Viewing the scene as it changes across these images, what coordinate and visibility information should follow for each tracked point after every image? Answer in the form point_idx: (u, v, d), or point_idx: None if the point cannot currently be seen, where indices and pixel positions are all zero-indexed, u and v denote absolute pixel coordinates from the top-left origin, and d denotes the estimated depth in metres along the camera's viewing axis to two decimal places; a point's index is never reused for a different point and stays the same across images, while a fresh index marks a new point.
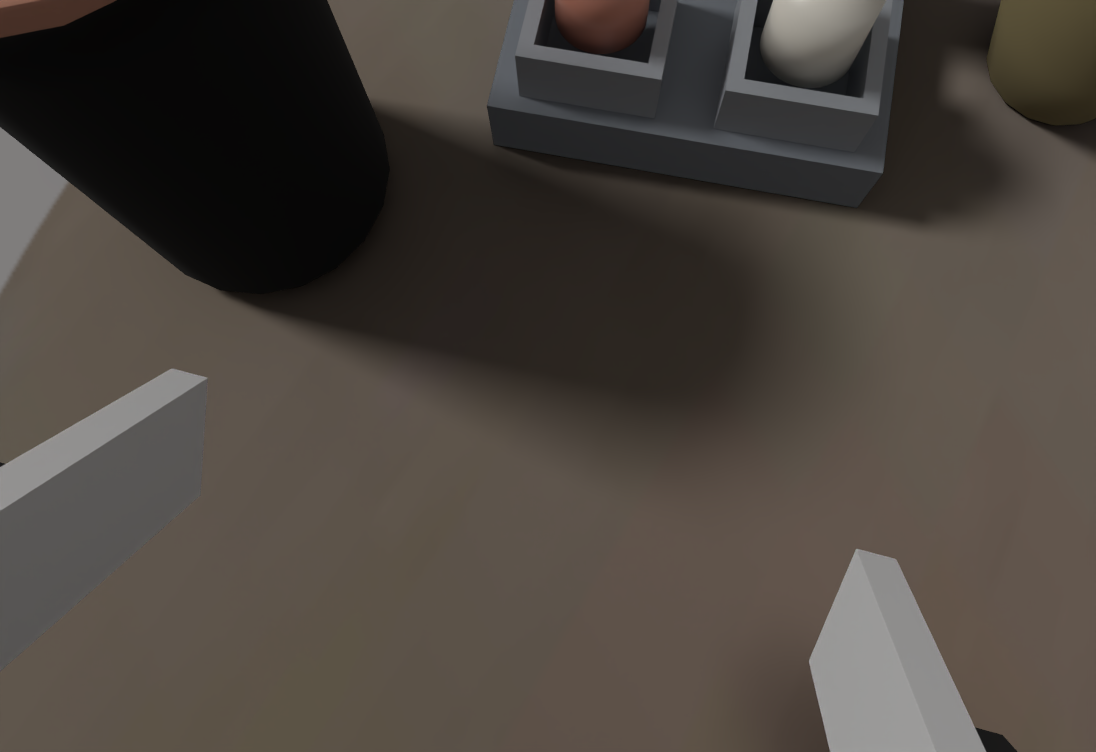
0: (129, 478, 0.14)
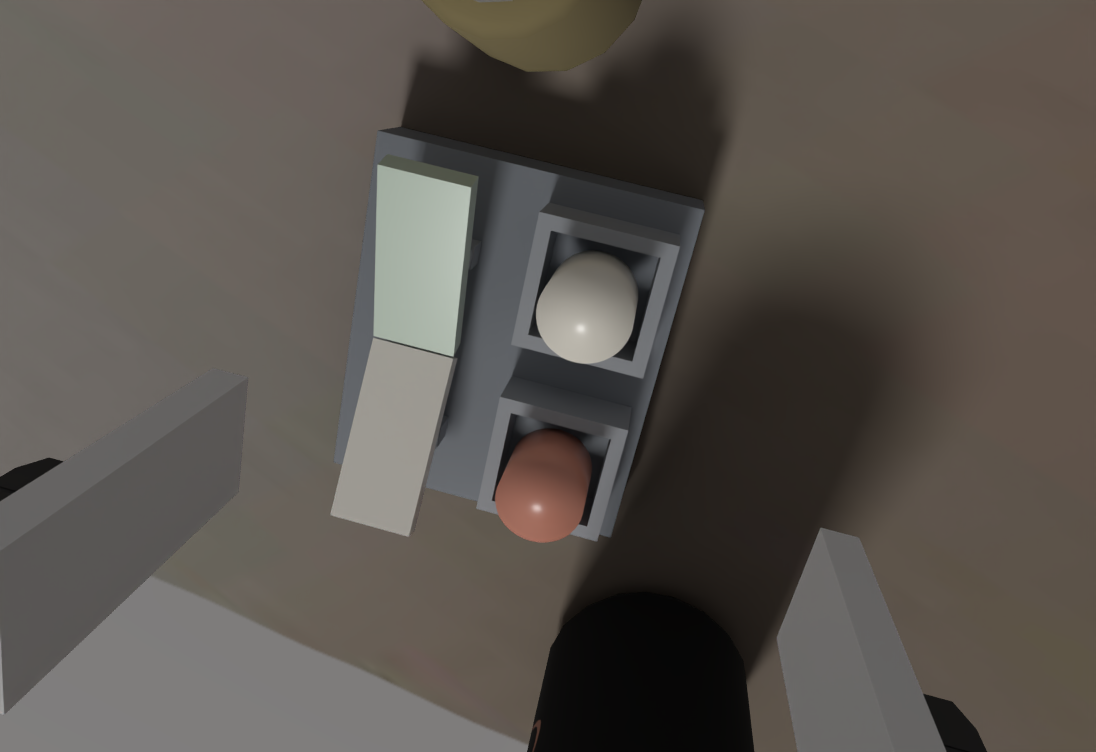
0: (176, 474, 0.14)
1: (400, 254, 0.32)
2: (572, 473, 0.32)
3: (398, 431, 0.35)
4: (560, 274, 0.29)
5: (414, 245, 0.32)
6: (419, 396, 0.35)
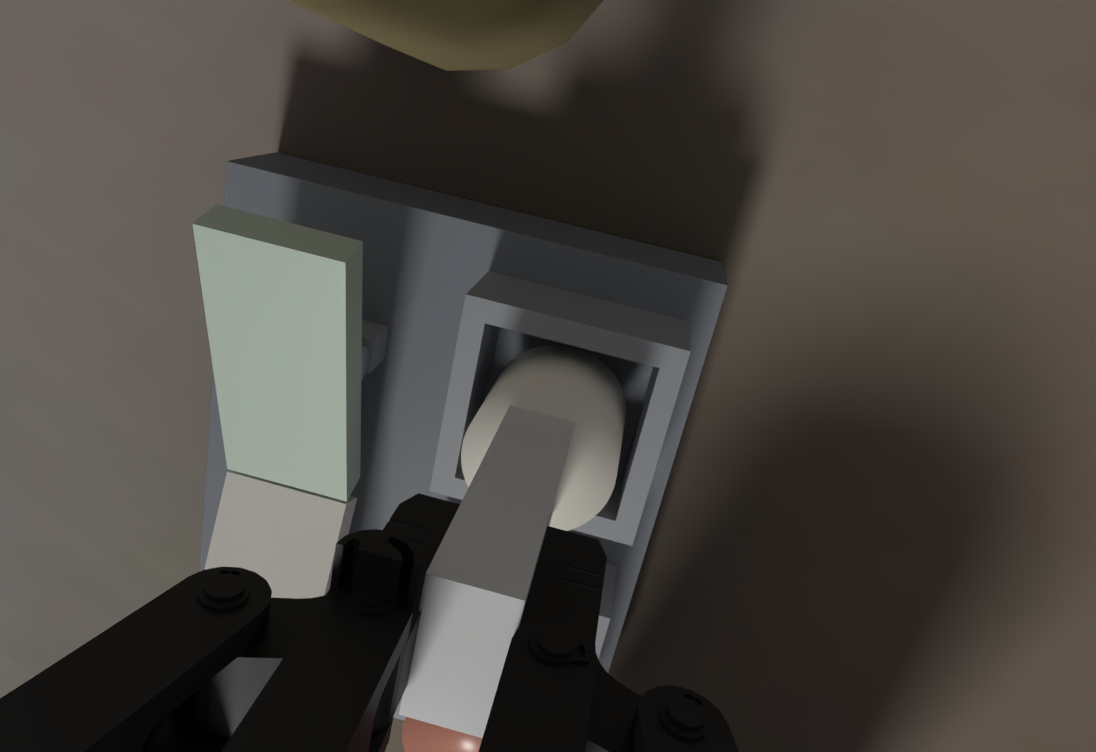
0: None
1: (249, 359, 0.20)
2: None
3: None
4: (498, 398, 0.18)
5: (268, 347, 0.20)
6: (296, 560, 0.23)
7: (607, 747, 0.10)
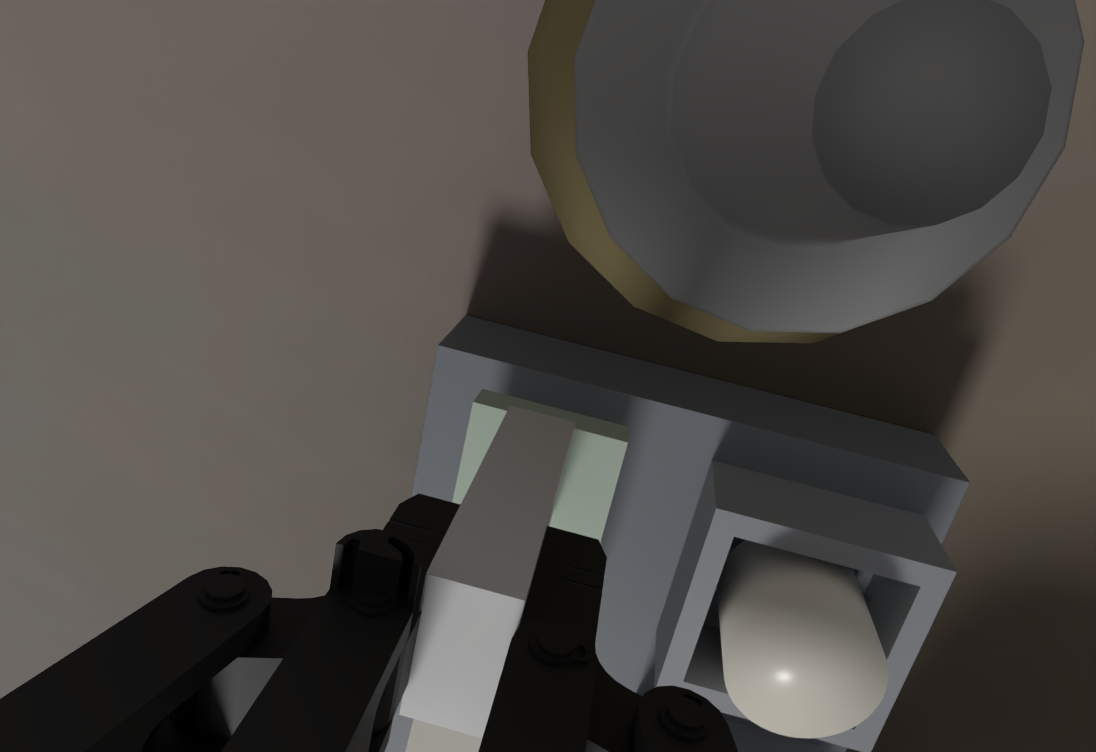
0: None
1: None
2: None
3: None
4: (769, 611, 0.18)
5: None
6: None
7: (607, 747, 0.10)
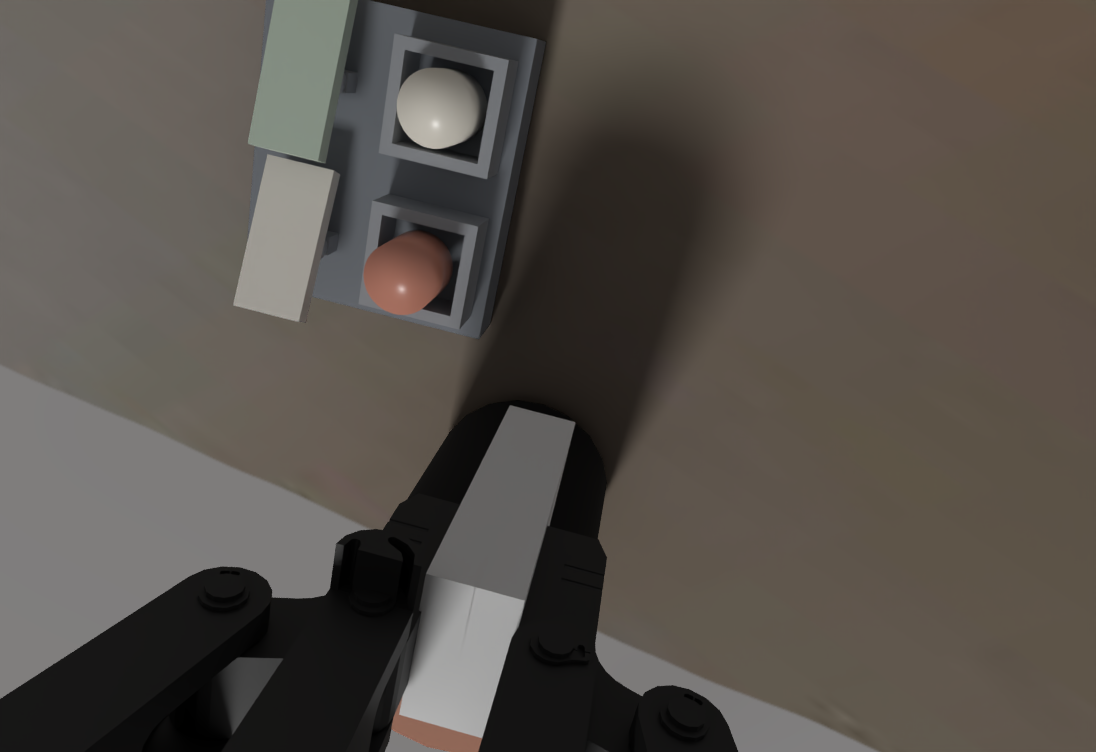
0: None
1: (285, 56, 0.39)
2: (425, 252, 0.39)
3: (289, 233, 0.42)
4: (413, 74, 0.37)
5: (298, 46, 0.39)
6: (306, 202, 0.42)
7: (607, 747, 0.10)
